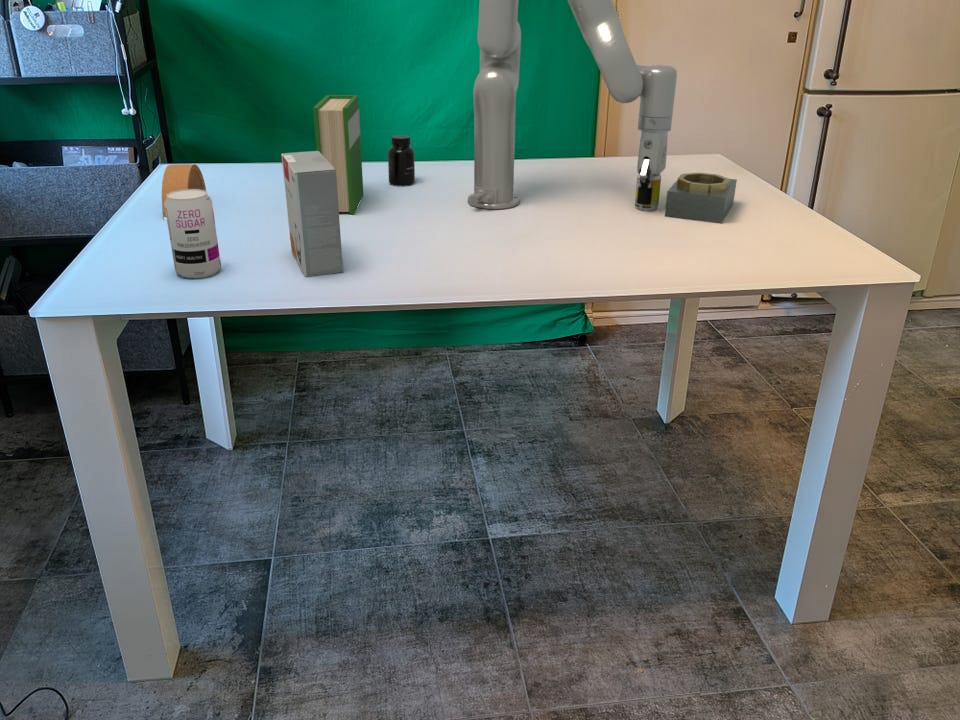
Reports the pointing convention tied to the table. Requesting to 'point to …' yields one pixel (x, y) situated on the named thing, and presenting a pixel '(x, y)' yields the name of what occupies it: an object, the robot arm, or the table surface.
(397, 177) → the supplement bottle
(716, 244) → the table surface
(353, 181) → the hardback book
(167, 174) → the arch
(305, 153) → the hard drive box
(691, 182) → the grey block with ring
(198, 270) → the supplement can
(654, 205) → the supplement bottle
